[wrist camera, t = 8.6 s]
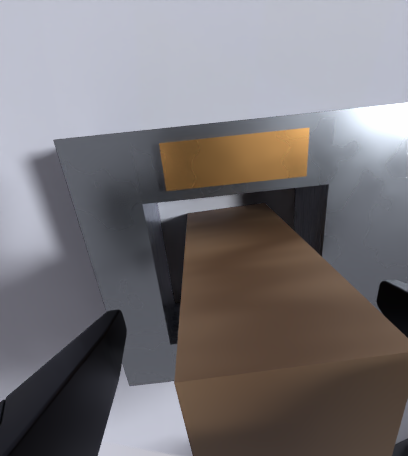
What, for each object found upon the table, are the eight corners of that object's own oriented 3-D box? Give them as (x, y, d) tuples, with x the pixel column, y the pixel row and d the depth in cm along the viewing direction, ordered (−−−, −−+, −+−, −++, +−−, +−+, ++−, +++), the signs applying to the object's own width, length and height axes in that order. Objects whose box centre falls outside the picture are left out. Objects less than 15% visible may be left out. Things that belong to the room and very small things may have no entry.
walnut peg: (264, 202, 12) (421, 350, 4) (267, 269, 14) (384, 482, 5) (187, 213, 12) (173, 382, 4) (198, 279, 14) (205, 505, 5)
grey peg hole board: (527, 92, 11) (660, 75, 8) (452, 305, 15) (518, 348, 12) (89, 138, 11) (47, 139, 8) (141, 339, 15) (128, 391, 12)
